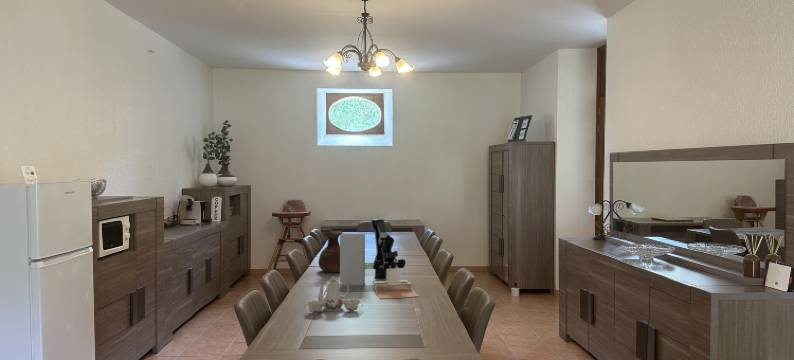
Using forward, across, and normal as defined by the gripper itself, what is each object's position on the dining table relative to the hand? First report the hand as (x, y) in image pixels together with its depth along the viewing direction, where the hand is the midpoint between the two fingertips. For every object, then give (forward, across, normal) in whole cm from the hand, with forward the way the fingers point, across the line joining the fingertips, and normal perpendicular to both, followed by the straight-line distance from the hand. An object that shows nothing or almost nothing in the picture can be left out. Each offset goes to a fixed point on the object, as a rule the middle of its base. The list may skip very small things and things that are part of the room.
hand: (391, 276), depth 292 cm
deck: (+6, 0, +4) cm, 7 cm away
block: (+5, 0, 0) cm, 5 cm away
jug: (-35, -27, +45) cm, 63 cm away
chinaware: (+31, -38, -19) cm, 53 cm away
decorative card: (-42, +7, +53) cm, 68 cm away
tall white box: (-8, -20, +18) cm, 28 cm away
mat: (+15, 0, -4) cm, 16 cm away
